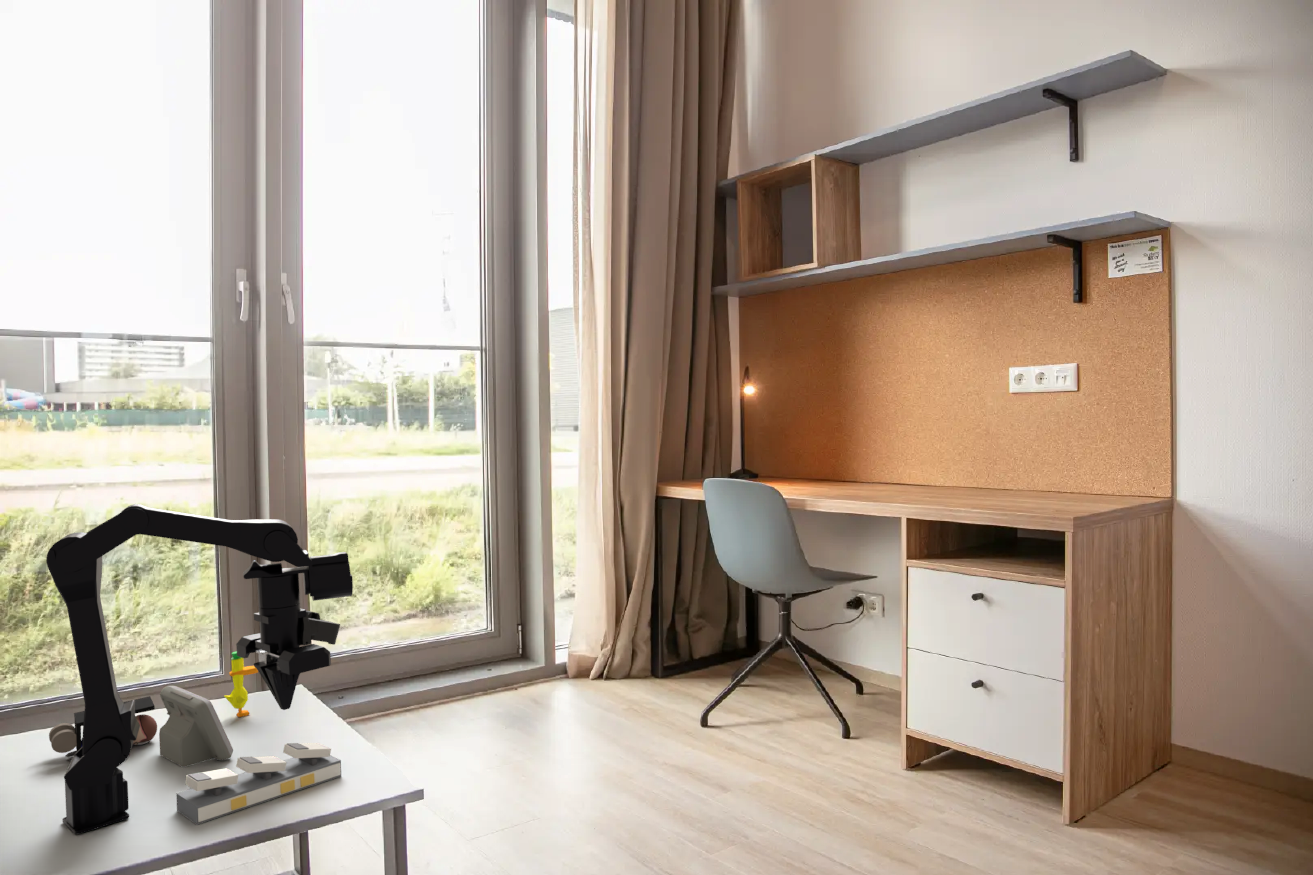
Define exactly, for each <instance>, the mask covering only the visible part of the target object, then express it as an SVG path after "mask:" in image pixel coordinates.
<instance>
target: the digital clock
mask: <svg viewBox="0 0 1313 875" xmlns="http://www.w3.org/2000/svg"><path fill="white" fill-rule="evenodd" d="M159 697H160V699H161V701H162V703H163V705H164V707H165V709H166V711H167V712H166V715H168V719H167V720H166V722H165V723H164V724H163V725H162V726H161V727H160V728H159V733H158V734H159V735H158V736H159V738H158V739H159V755H160V756H161V757H163V758H165V759H167V760H169V761H170V762H172V763H174V764H176V765H178V766H180V767H182V768H186V767H190V766H192V765H197V764H199V763H203V762H207V761H209V760H213V759H214V760H218V761H226V760H227V761H228V760H229V759H231V757H232V756H233V752H234V747H233V746H232V744H231V741H230V739H229V738H228V735H227V733H226V731H225V728H224V726H223V724H222V722H221V720H220V718H219V715H218V714H217V710H216V709H215V707H214V705H213V703H212V702H211V700H209V699H208V698H206V697H204V696H201V695H198V694H196V693H193V692H191V691H188V690H187V689H184V688H182V687H179V686H176V685H166V686H164V687H163V688H162V689H161V691H160V694H159Z"/></svg>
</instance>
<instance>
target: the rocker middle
mask: <svg viewBox="0 0 1313 875" xmlns="http://www.w3.org/2000/svg"><path fill="white" fill-rule="evenodd" d="M283 760H284V759H281V758H279V757H277V756H273V755H271V756H270V755H269V756H240V757H237V759H236V765H235V767H236V768H238V769H240V770H242V771H243V772H247V773H258V772H274V771H285V768H286V763H287V762H285V761H283Z"/></svg>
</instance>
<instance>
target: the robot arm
mask: <svg viewBox="0 0 1313 875" xmlns="http://www.w3.org/2000/svg"><path fill="white" fill-rule="evenodd" d="M137 535H142V536H143V535H145V536H151V537H156V538H157V537H158V538H165V539H172V540H178V541H184V542H185V541H186V542H191V543H200V544H206V545H213V546H220V547H227V548H229V549H232V550H235V551H239V552H240V553H243V554H247V555H249V556H252V557H255V558H258V559H261V560H265V561H268V562H272V563H268V564H267V563H266V564H261V563H259V562H258V561H257V560H256V559H254V560H252V561H251V564H250V565H249V566H248V568H246V569H245V570H244V571H243V572H242V577H243V579H244V580H250V579H251V580H252V579H256V581H257V582H256V584H257V600H258V601H257V602H258V612H254V613H253V620H254V621H256V622H259V632H258V633H254V634H250V635H245V636H244V635H243V636H241V638H239V640H238V641H237V642H236V644H235V646H236V651H237V656H239V657H242V658H244V659H246V658H249V656H250V654H253V653H256V654H258V661H257V662H254V663H253V666H254V667H256V668H257V670H258V673H259V675H260V676H261V678H262V679H263V681H264V683H265V684H266V686H267V688H268V690H269V691H270V693H271V694H272V696H273V698H274V700H275V701H276V703H277V705H278V707H279V709H280V710H283V711H285V710H289V709H291V706H292V702H293V698H294V694H295V691H296V687H297V683H298V680H299V677H300V675H301V674H303V673H307V672H312V671H315V670H319V669H323V668H326V667H330V666H331V665H332V661H331V660H332V659H331V657H332V656H331V651H330V650H328V648H326V647H325V646H322V645H318V644H316V643H312V641H316V642H317V641H318V642H322V643H323V642H324V643H327V644H328V645H334V646H335V645H336V643H337V639H338V634H339V631H340V627H341V623H340V624H339V623H337V622H332V621H328V620H325V619H324V620H323V619H321V617H320V613H319V612H315V611H310V610H306V609H304V608H301V596H300V595H301V592H300V576H299V574H302V584H303V585H302V586H303V594H304V596H309V597H311V598H312V601H313V602H314V601H321V600H330V599H331V600H332V599H338V598H346V597H352V596H353V590H354V589H353V588H354V586H353V583H354V581H353V575H352V573H351V566H350V562H349V554H348V553H347V552H346V551H339V552H336V553H333V554H323V555H313V556H309V555H310V554H309V552H308V551H307V550H306V549H303V548H302V547H301V545H299V544H298V542H299V539H298V535H297V532H296V531H295V529H294V528H293V527H292V525H291V524H289V523H288V522H287V521H285V520H283V519H278V518H277V519H276V518H275V519H274V518H271V519H270V518H269V519H264V518H263V519H260V518H259V519H255V518H253V519H242V520H241V519H240V520H239V519H236V520H235V519H234V520H233V519H225V518H219V517H213V516H206V515H199V514H193V513H187V512H180V511H174V510H168V509H160V508H154V507H148V506H146V505H143V504H140V503H137V504H136V503H135V504H131V505H128V506H127V507H125V508H124V509H122V510H121V511H120V513H118V514H116V515H113V517H111V518H109V519H107V520H106V521H103V522H102V523H100V524H98V525H97V526H96V527H94V528H92V529H91V530H89V531H87V532H73V533H69V534H66V535H65V536H64V537H62V538H61V539H59V540H57V541H56V542H55V543H53V544H52V546H51V547H50V548H49V550H48V551H47V553H46V565H47V568H48V572H49V574H50V576H51V578H52V580H53V583H54V585H55V588H56V589H57V592H59V594H60V596H61V598H62V600H63V601H64V604H65V605H66V609H67V614H68V620H69V626H70V631H71V636H72V637H71V638H72V641H73V647H74V652H75V656H76V663H77V668H78V673H79V679H80V685H81V689H82V696H83V702H84V711H85V712H84V723H83V726H82V737H83V742H82V747H81V748H80V749H79V750H78V751H77V753H76V754H75V755H73V756H72V757H73V758H72V757H71V758H72V760H71V761H69V762H70V763H69V765H68V767H67V769H66V771H65V774H64V776H63V779H64V794H65V817H63V818H61V819H62V820H61V821H62V823H63V825H65V827H67V828H68V829H69V830H70V831H71V832H72V833H74V834H75V835H79V834H80V835H81V834H83V833H86V832H90V831H93V830H96V829H99V828H102V827H106V826H109V825H111V824H115V823H119V822H122V821H125V820H128V819H129V818H130V814H129V813H128V812H127V811H128V810H129V807H130V806H129V787H128V786H129V785H128V783H129V782H128V780H126V779H125V778H124V771H123V770H122V769H120V768H118V767H119V766H120V765H122V764H123V763H125V762H126V760H127V759H128V758H129V756H130V755H131V751H132V749H133V745H134V744H133V741H135V740H136V738H137V735H138V731H139V728H140V724H139V723H138V721H137V720H136V717H135V716H136V714H135V699H131V700H132V701H131V700H129V701H130V702H127V703H125V704H124V702H125V701H124V700H123V699H122V697H121V695H120V693H119V691H118V688H117V680H116V676H115V672H114V670H115V669H114V667H113V666H114V665H113V659H112V655H111V654H112V652H111V650H110V649H111V648H110V643H109V638H108V632H107V627H106V622H105V621H106V620H105V615H104V610H103V605H102V598H101V589H102V578H103V577H102V575H103V556H105V555H106V554H108V553H109V552H112V551H113V550H115V549H116V548H117V547H119V546H121V545H122V544H124V543H125V542H127V541H129V540H130V539H131V538H133V537H135V536H137ZM283 561H284V562H285V563H289V564H290V565H292V566H294V567H284V568H283V565H282V562H283Z"/></svg>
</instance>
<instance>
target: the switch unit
mask: <svg viewBox="0 0 1313 875" xmlns="http://www.w3.org/2000/svg"><path fill="white" fill-rule="evenodd" d="M282 760H283V761H285V762H287V763H286V768H285V771H274V772H258V773H247V772H245V771H243V772H241V773H236V774H237V775H238V783H237V784H233V785H227V786H222V787H217V788H212V789H206V790H201V791H195V790H194V789H192V788H189V789H185V790H183V791H182V790H181V791H178V792H176V794H175V795H176V796H175V797H176V812H178V813H179V814H181V815H182V816H184V817H185V818H187V819H188V820H190V822H192V823H194V824H195V825H200V824H203V823H206V822H209V821H212V820H215V819H218V818H222V817H224V816H227V815H230V814H233V813H236V812H239V811H242V810H246V809H248V808H252V807H254V806H257V805H260V804H263V803H266V802H269V801H272V800H274V799H277V798H280V797H283V796H284V797H285V796H287V795H290V794H293V793H296V792H298V791H299V792H300V791H301V790H305V789H308V788H312V787H314V786H317V785H319V784H320V785H321V784H323V783H325V782H329V781H331V780H334V779H335V780H336V779H338V778H340V777H342V760H341V759H339V758H338V757H335V756H332V755H331V754H330V757H315V758H294V757H289V758H286V759H282Z"/></svg>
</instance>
